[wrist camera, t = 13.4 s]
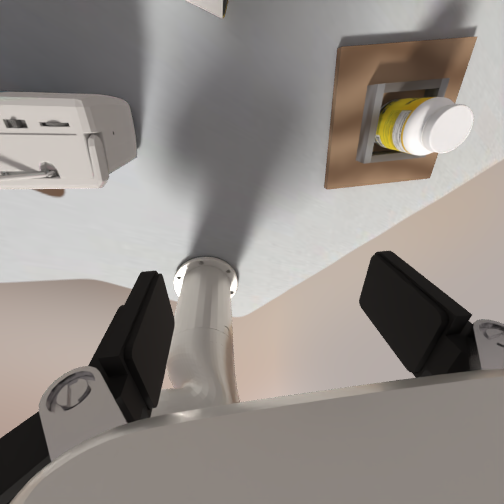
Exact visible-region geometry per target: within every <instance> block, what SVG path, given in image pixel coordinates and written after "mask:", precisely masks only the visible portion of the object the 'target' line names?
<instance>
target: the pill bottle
mask: <svg viewBox="0 0 504 504" xmlns="http://www.w3.org/2000/svg"><path fill="white" fill-rule="evenodd" d="M473 121H474V116H473V112H472V110H471V109H470V108H469V107H468V106H466V105H461V104H455V103H454V102H453V101H452V100H450V99H448V98H445V97H427V98H406V99H395V100H392V101H389V102H388V103H386V104H385V105H383V106H382V107H381V110H380V115H379V120H378V126H377V131H376V136H375V141H374V142H375V143H376V144H377V145H379V146H381V147H384V148H388V149H392V150H397V151H400V152H404V153H408V154H412V155H418V156H422V155H427V154H430V153H433V152H436V153H446V152H449V151H452V150H453V149H455V148H457V147H458V146H459V145H460V144H461V143H462V142H463V141H464V140H465V139H466V138H467V136H468V135H469V133H470V131H471V129H472V126H473Z"/></svg>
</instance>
